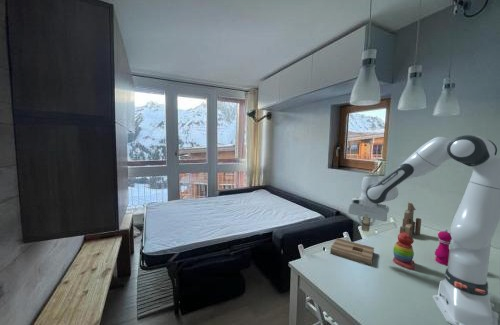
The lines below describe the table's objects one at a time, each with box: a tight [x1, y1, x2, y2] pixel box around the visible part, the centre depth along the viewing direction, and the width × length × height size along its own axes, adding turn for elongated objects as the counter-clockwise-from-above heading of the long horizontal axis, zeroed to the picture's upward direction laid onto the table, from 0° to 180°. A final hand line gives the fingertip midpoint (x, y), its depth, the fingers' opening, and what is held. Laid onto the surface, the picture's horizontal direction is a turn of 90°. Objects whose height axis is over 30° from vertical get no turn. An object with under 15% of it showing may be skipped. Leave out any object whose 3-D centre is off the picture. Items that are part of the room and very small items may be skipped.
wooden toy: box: [399, 202, 422, 237], centre depth 157 cm, size 16×7×25 cm, turn 114°
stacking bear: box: [392, 232, 415, 270], centre depth 117 cm, size 11×10×18 cm
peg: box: [361, 215, 371, 233], centre depth 121 cm, size 4×4×10 cm
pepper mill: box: [434, 228, 452, 266], centre depth 119 cm, size 7×7×20 cm
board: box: [329, 237, 375, 267], centre depth 127 cm, size 18×22×4 cm
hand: (365, 224), depth 121 cm, fingers closed on peg, 4 cm apart
